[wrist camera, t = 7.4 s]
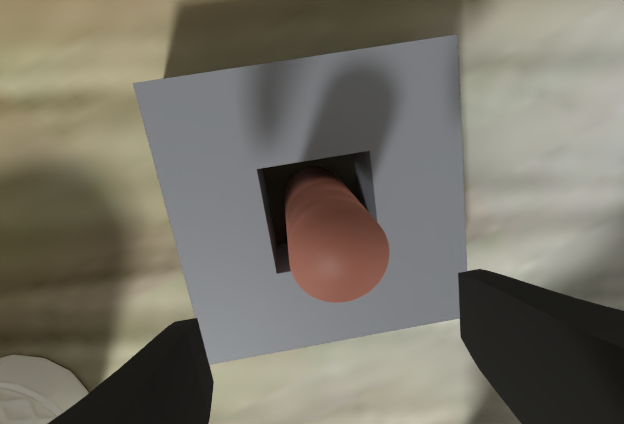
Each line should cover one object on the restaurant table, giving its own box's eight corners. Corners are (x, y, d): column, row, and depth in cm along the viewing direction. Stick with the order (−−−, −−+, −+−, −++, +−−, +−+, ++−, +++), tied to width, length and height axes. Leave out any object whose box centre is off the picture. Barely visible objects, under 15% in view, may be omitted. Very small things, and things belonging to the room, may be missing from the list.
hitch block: (422, 48, 18) (457, 34, 14) (437, 282, 21) (469, 316, 18) (161, 87, 17) (132, 83, 14) (219, 322, 20) (207, 365, 17)
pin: (341, 162, 19) (386, 201, 11) (346, 220, 19) (391, 295, 12) (280, 169, 18) (282, 214, 11) (287, 228, 19) (295, 308, 12)
